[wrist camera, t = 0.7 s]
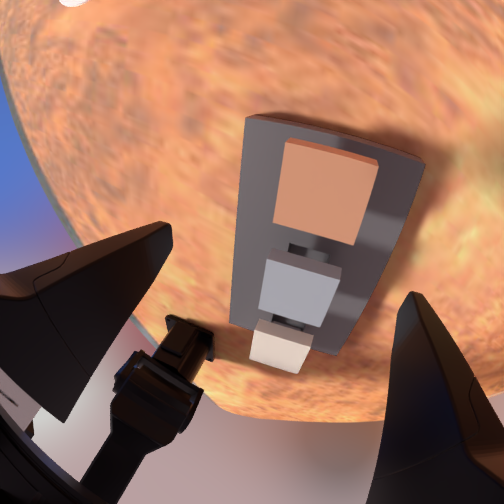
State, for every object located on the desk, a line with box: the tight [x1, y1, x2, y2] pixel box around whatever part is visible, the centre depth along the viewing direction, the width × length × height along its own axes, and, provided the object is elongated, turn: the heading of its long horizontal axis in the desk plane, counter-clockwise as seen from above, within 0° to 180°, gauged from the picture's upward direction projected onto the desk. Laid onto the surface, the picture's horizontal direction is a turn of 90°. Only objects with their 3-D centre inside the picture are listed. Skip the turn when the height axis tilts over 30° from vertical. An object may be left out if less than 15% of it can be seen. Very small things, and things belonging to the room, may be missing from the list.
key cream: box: [249, 319, 314, 374], centre depth 23 cm, size 4×4×2 cm
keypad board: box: [229, 115, 426, 356], centre depth 21 cm, size 19×11×2 cm, turn 174°
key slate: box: [258, 248, 342, 327], centre depth 18 cm, size 4×4×2 cm
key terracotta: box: [273, 138, 379, 245], centre depth 14 cm, size 4×4×2 cm
